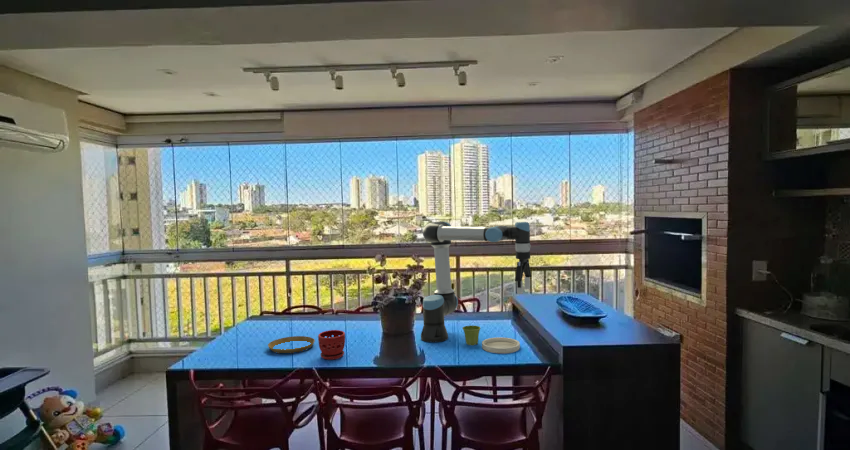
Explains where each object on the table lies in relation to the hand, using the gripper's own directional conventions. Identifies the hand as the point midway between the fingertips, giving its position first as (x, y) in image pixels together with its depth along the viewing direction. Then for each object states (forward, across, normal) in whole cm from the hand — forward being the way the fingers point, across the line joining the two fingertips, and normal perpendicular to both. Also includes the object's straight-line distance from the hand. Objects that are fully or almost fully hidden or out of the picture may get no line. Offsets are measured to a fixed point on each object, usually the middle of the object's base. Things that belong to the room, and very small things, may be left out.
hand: (523, 291), depth 233 cm
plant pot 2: (+27, -13, +25) cm, 39 cm away
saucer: (+27, -14, +9) cm, 31 cm away
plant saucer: (+28, -57, +111) cm, 128 cm away
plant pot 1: (+28, -60, +80) cm, 104 cm away
